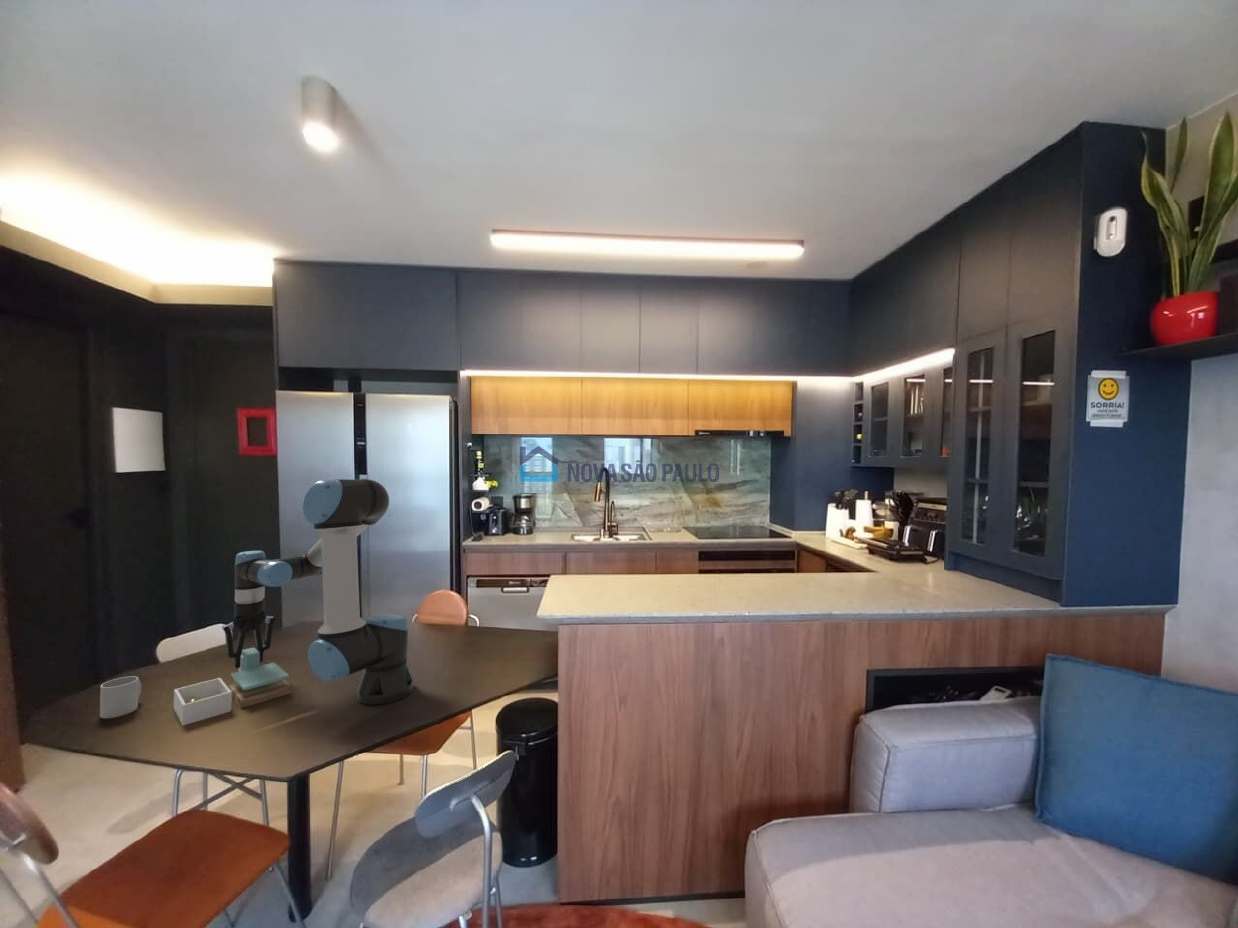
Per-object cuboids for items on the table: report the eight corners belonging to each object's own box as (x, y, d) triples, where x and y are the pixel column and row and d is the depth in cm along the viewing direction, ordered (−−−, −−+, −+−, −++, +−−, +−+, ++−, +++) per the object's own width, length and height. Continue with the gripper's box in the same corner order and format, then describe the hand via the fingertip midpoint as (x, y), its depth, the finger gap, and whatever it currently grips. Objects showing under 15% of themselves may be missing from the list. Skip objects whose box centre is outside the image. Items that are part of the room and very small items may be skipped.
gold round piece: (200, 707, 133) (200, 699, 133) (187, 711, 131) (187, 702, 131) (198, 704, 134) (198, 696, 135) (185, 708, 132) (185, 699, 132)
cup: (91, 722, 127) (92, 688, 127) (125, 703, 136) (126, 672, 137) (121, 720, 127) (122, 686, 128) (153, 702, 137) (154, 671, 137)
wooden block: (290, 695, 142) (290, 685, 142) (240, 710, 133) (240, 699, 133) (276, 681, 151) (276, 672, 151) (228, 695, 142) (228, 685, 142)
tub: (231, 713, 131) (231, 691, 131) (182, 728, 123) (182, 705, 123) (219, 697, 140) (220, 677, 140) (173, 711, 132) (174, 689, 132)
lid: (288, 679, 141) (289, 660, 141) (243, 692, 133) (243, 672, 133) (268, 661, 155) (268, 643, 155) (225, 671, 147) (226, 653, 147)
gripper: (277, 593, 159) (276, 664, 158) (213, 603, 146) (212, 680, 146) (284, 597, 154) (283, 670, 154) (219, 608, 141) (218, 687, 141)
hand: (248, 675), depth 150 cm, fingers closed on lid, 3 cm apart
